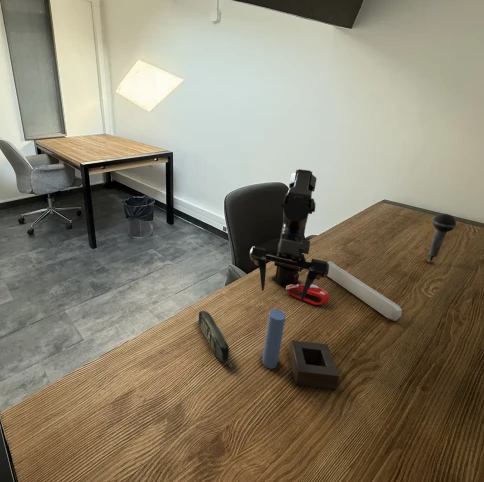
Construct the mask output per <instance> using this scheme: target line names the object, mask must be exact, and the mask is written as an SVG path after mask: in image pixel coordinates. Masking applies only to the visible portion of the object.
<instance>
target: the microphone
mask: <svg viewBox="0 0 484 482" xmlns="http://www.w3.org/2000/svg"><path fill="white" fill-rule="evenodd" d="M431 222H432V226H433V227H434V229H435V230H434V234H433V237H432V240H431V244H430V246H429V251H428V255H429V257H430V258H429V259H428V260H427V262H428V263H429V264H432V263H433V259H434V258H435V257H438V255H439V252H440V250H441V248H442V245H443V242H444V240H445V238H446V235H447V233H448V232H451V231H453V230H454V229H455V228H457V221H456V219H455V218H454V217H453V215H451V214H448V213H439V214H437V215H435V216H434V217H433V218H432V220H431Z"/></svg>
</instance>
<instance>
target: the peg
mask: <svg viewBox="0 0 484 482" xmlns="http://www.w3.org/2000/svg"><path fill="white" fill-rule="evenodd" d="M285 323H286V314H285V312H284V311H283V310H281V309H278V308H272V309H271V310H270V311H269V314H268V321H267V326H266V334H265V339H264V340H265V341H264V345H263V346H264V347H263V353H262V364H263V365H264V367H266V368H267V369H269V370H271V369H276V368H277V367H278V362H279V356H280V351H281V345H282V339H283V334H284V327H285Z"/></svg>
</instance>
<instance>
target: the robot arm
mask: <svg viewBox="0 0 484 482" xmlns="http://www.w3.org/2000/svg"><path fill="white" fill-rule="evenodd" d="M317 180H318V179H317V176H315V175H314V174H313V171H311V170H308V169H301V168H298V169H296V170H295V172H293V173H292V174H290V180H289V184H288V190H287V193H285V194H284V197H283V199H282V203H281V210H283V214H282V226H281V233H280V236H279V237H280V238H279V241H278V244H277V248H276V251H275V254H274V253H269V252H268V248H266V247H261V246H256V245H253V246H252V247H251V248H250V250H249V258H250V261H252V262H254V265H255V266H257V267H258V270H259V276H260V286H261V291H262V292H264V291H265V288H266V287H265V286H266V276H267V275H266V273H267V261H268V262H272V263H274V264H273V266H274V267H276V271H275V275H274V276H273V277H271V280H272V281H274V282H275V283H276V284H278V285H279V286H281V287H282V288H284V289H285V290H286V288H287V287H286V286H288V285H291V284H294V285H297V284H299V285H300V280H299V278H300V273H302V271H304V270H307V271H308V272H307V275H306V278H305V281H304V284H305V285H304V288H303V291H302V292H301V295H300V296H301V299H300V302H303V299H304V297H305V298H306V295H307V294H306V293H307V291H308V289H309V287H310V286H311V284H313V283H314V282H315V281H316V280H317V281H319V280H321V278H325V279H326V277H328V276H327V274H328V272H329V264H328V263H327V262H328V261H325V260H321V259H316V258H311V261H307V259H306V258H305V255H309V253H310V246H311V240H308V239H305V234H306V233H305V232H306V227H307V222H308V219H309V215H312V214H313V213H315V212H316V201H315V198H312V197H313V193H314V192H315V190H316V185H317ZM299 272H300V273H299Z"/></svg>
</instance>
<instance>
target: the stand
mask: <svg viewBox="0 0 484 482" xmlns="http://www.w3.org/2000/svg"><path fill="white" fill-rule="evenodd" d="M289 344H290V345H289V349H288V355H289V356H288V357H289V360H290V364H291V368H292V373H293V378H294V383H295V385H296V386H303V387H311V388H312V387H313V388H318V389H319V388H320V389H329V390H337V387H338V383H339V379H340V374H339V370H338V369H337V365H336V362H335V360H334V358H333V355H332V353H331V350H330V347H329V345H328V343H320V342H311V341H303V340H290V343H289ZM306 362H308V363H316V364H318V365H316V364H315V365H314V364H307V363H306Z"/></svg>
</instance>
